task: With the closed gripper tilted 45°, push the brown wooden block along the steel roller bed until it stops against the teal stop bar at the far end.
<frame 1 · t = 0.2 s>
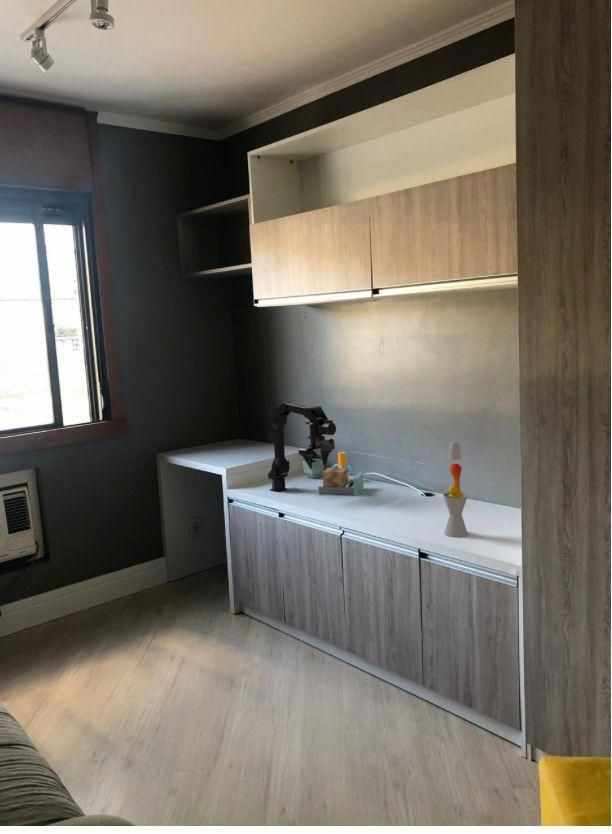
hand: (317, 467, 309), 15 cm above the cabinet, tool pointing down, fingers open, 9 cm apart
flower pot: (314, 477, 355), on the cabinet
stop bar: (358, 491, 320), on the cabinet
brown wooden block: (335, 477, 322), point 7 cm above the cabinet, slide at 0.0 cm
roller bed: (339, 491, 322), on the cabinet
lava lamp: (456, 534, 251), on the cabinet
orange post with rings: (343, 481, 343), on the cabinet
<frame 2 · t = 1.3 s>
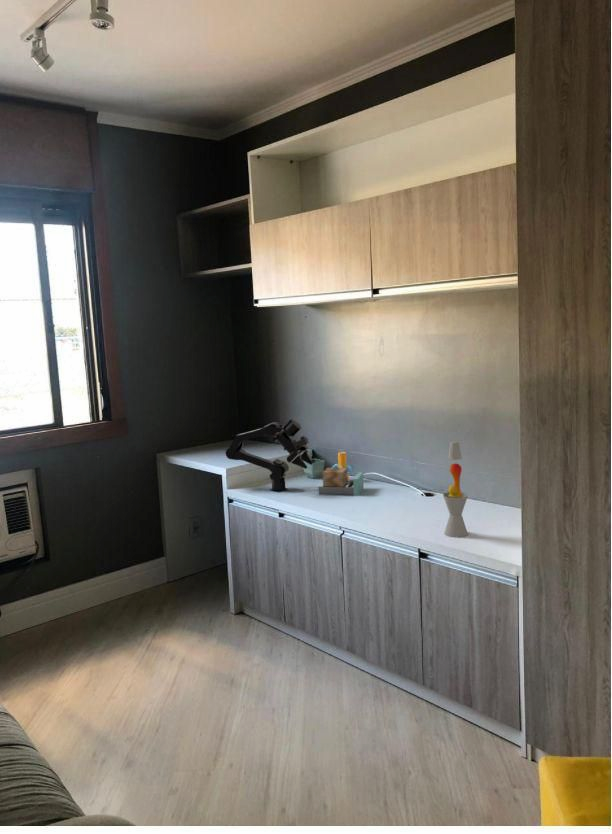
hand: (309, 466, 324), 12 cm above the cabinet, tool tilted 45°, fingers open, 9 cm apart
nothing on the cabinet moved.
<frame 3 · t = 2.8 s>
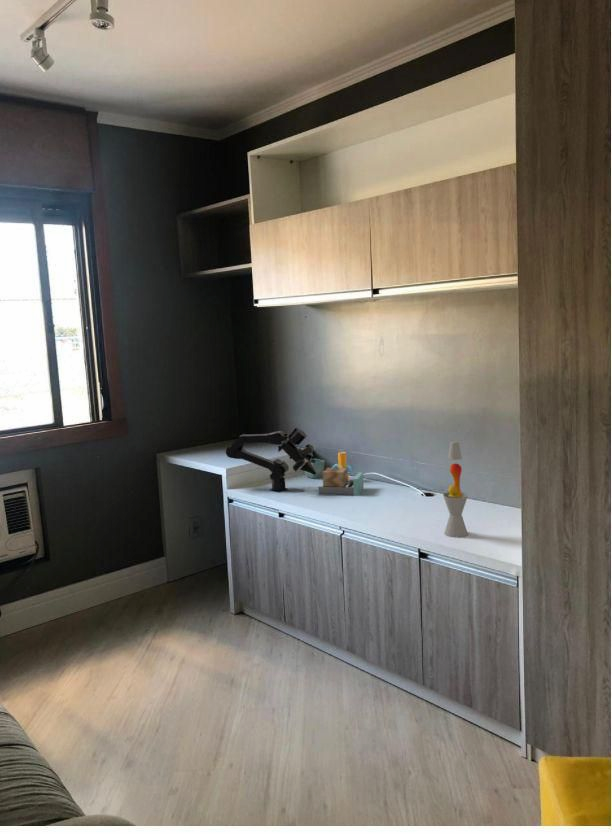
hand: (315, 473, 324), 8 cm above the cabinet, tool tilted 45°, fingers closed
nothing on the cabinet moved.
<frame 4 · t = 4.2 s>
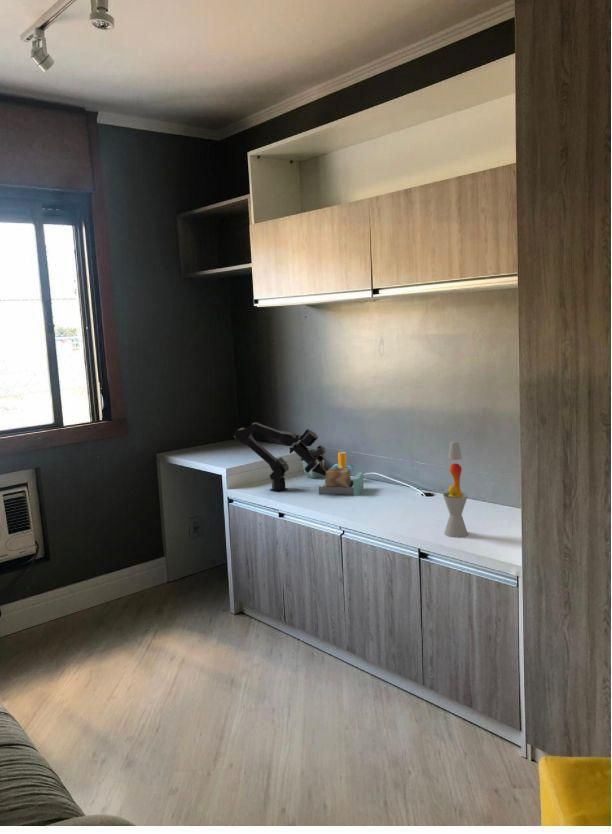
hand: (327, 475, 323), 8 cm above the cabinet, tool tilted 45°, fingers closed, pressing on brown wooden block
brown wooden block: (338, 477, 321), point 7 cm above the cabinet, slide at 1.5 cm, touching gripper
everything else where it was.
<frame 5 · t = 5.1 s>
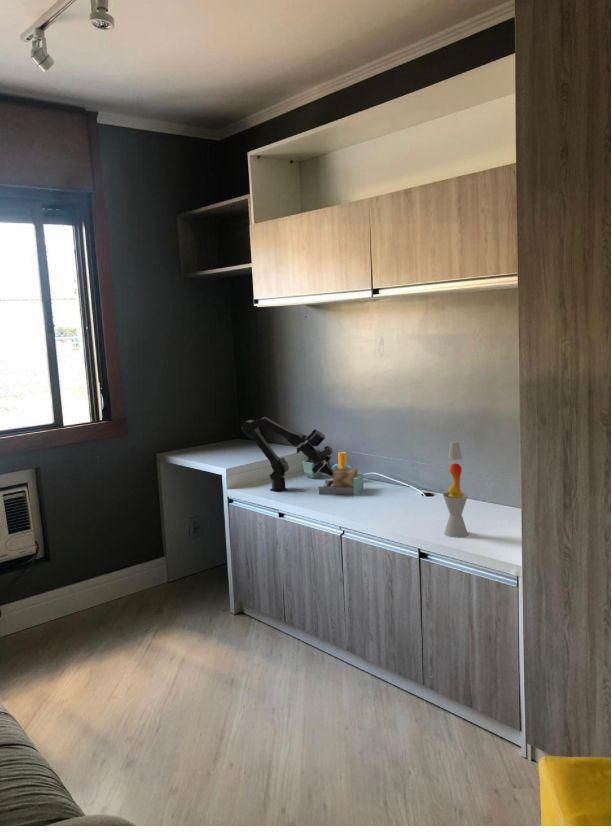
hand: (334, 475, 322), 8 cm above the cabinet, tool tilted 45°, fingers closed, pressing on brown wooden block
brown wooden block: (345, 477, 321), point 7 cm above the cabinet, slide at 5.0 cm, touching gripper
everything else where it was.
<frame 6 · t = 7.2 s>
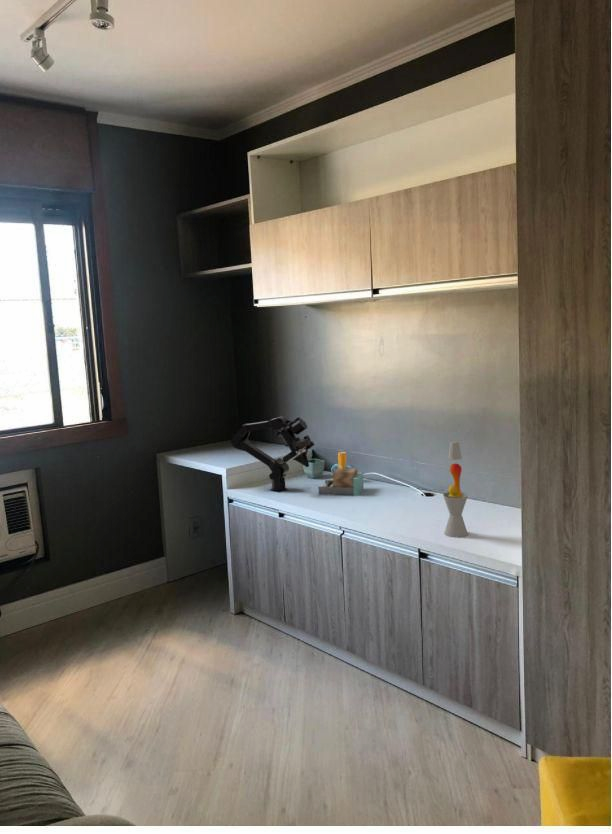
hand: (308, 466, 323), 12 cm above the cabinet, tool tilted 35°, fingers closed
brown wooden block: (345, 477, 321), point 7 cm above the cabinet, slide at 5.0 cm
everything else where it was.
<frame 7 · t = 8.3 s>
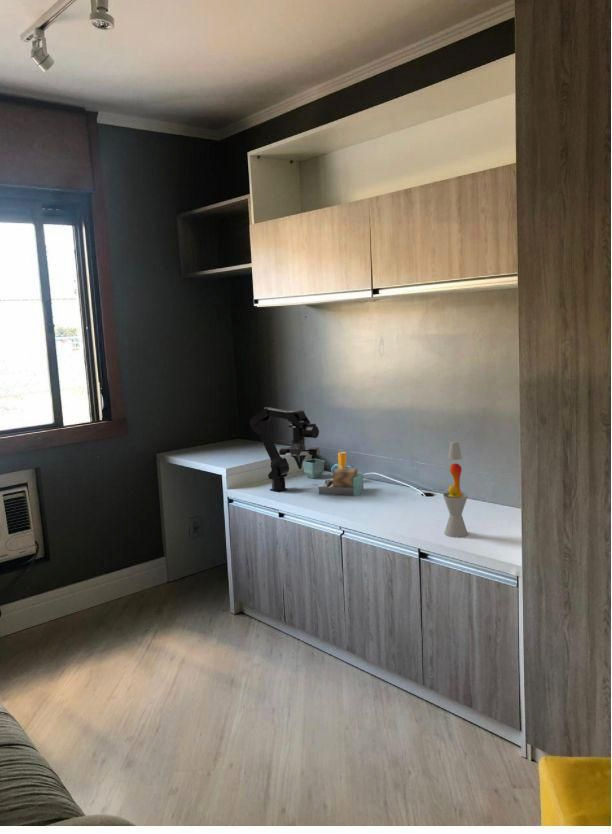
hand: (300, 468, 320), 12 cm above the cabinet, tool pointing down, fingers closed
nothing on the cabinet moved.
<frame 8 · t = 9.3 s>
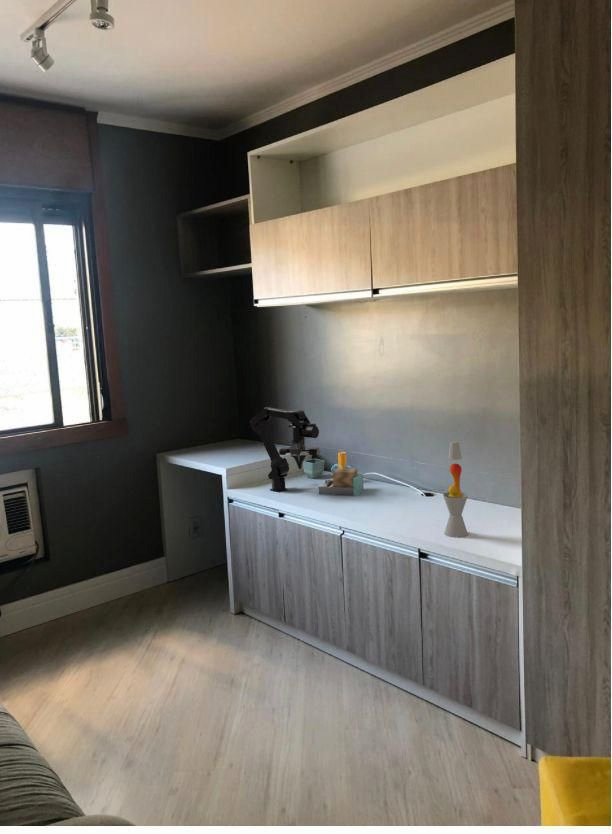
hand: (300, 468, 320), 12 cm above the cabinet, tool pointing down, fingers closed
nothing on the cabinet moved.
at the end: brown wooden block slide at 5.0 cm; the gripper is holding nothing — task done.
